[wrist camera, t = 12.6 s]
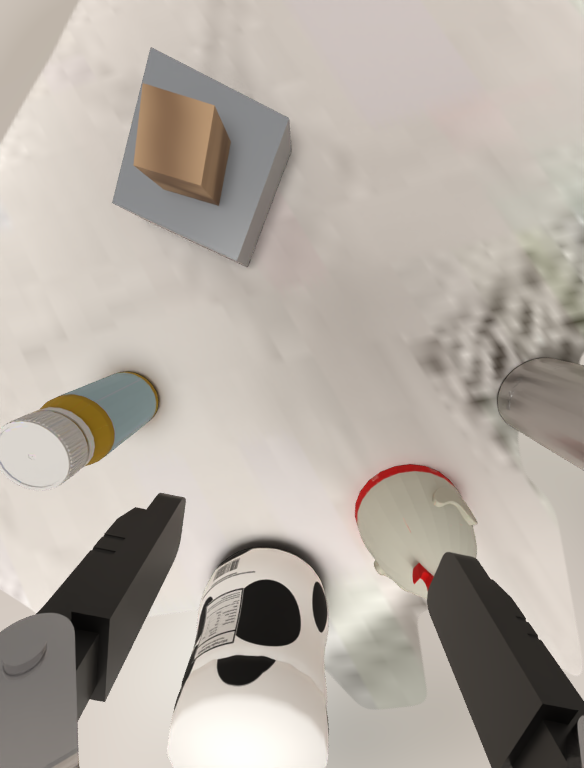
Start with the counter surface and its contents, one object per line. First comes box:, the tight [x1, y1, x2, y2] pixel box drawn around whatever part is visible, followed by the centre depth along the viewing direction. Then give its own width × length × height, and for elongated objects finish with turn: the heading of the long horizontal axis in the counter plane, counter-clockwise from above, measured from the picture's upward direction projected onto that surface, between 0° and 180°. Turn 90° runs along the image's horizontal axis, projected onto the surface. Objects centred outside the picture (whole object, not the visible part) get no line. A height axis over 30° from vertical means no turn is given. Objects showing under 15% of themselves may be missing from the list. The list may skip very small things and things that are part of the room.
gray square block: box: [112, 47, 291, 267], centre depth 29 cm, size 12×12×6 cm
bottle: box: [0, 372, 158, 491], centre depth 31 cm, size 7×7×15 cm
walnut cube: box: [133, 83, 231, 206], centre depth 24 cm, size 5×5×5 cm
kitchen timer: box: [355, 464, 477, 599], centre depth 34 cm, size 14×14×15 cm
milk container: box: [167, 547, 329, 768], centre depth 37 cm, size 17×17×18 cm
